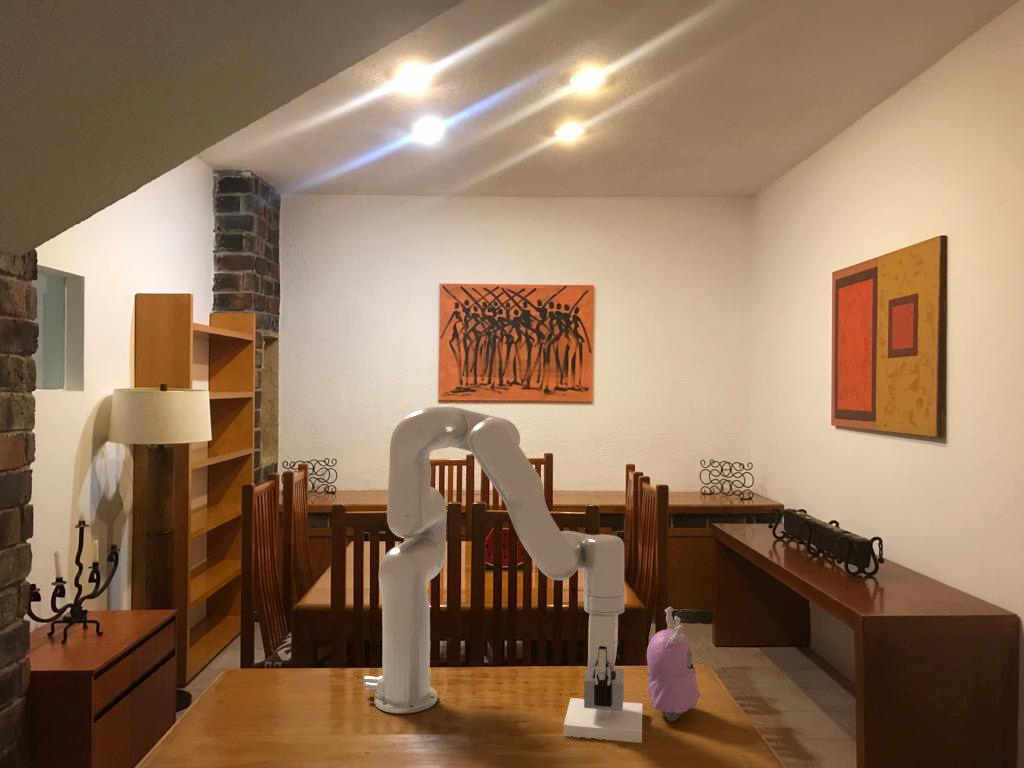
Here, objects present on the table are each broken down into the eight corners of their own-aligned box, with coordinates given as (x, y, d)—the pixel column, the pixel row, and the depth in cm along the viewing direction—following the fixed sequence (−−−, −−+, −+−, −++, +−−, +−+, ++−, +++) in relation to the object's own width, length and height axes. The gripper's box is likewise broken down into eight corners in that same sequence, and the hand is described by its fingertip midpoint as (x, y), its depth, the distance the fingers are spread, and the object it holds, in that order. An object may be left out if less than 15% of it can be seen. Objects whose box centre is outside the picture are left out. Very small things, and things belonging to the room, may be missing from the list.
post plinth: (563, 736, 133) (563, 686, 133) (570, 708, 145) (570, 662, 145) (641, 742, 130) (641, 692, 130) (642, 713, 142) (642, 667, 142)
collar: (584, 707, 135) (584, 680, 135) (587, 692, 142) (587, 666, 142) (622, 710, 133) (622, 683, 133) (623, 695, 140) (623, 669, 140)
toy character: (702, 731, 135) (702, 622, 135) (646, 725, 137) (646, 618, 137) (699, 703, 147) (699, 603, 147) (647, 699, 149) (647, 600, 149)
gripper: (587, 588, 147) (588, 677, 147) (580, 614, 130) (580, 715, 130) (625, 590, 146) (625, 680, 145) (622, 617, 128) (622, 718, 128)
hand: (604, 696), depth 137 cm, fingers closed on collar, 7 cm apart
